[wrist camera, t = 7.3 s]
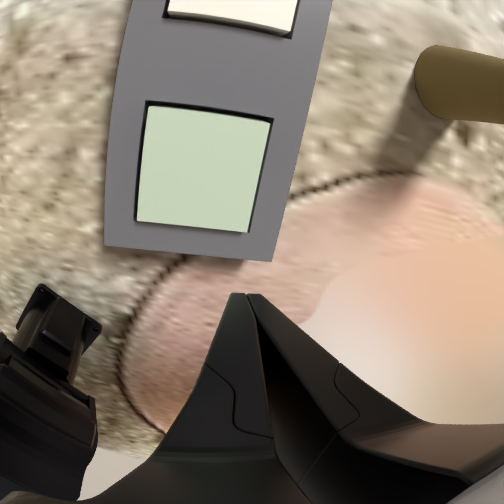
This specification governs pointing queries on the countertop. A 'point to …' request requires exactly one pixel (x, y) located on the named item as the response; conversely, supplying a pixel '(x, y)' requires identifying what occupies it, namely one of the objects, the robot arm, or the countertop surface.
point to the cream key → (238, 13)
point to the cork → (461, 84)
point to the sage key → (200, 167)
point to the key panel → (216, 99)
